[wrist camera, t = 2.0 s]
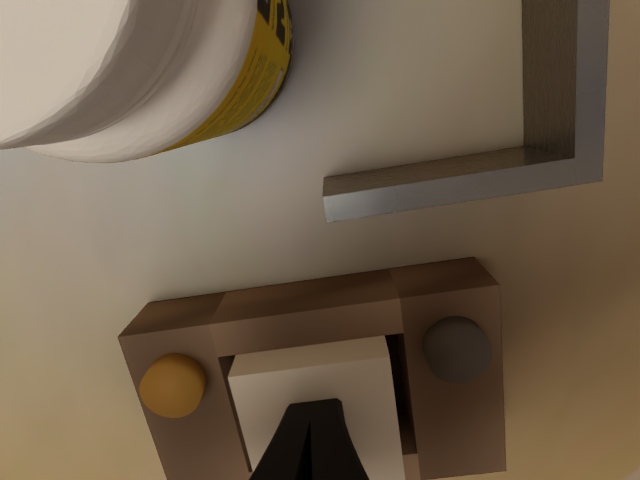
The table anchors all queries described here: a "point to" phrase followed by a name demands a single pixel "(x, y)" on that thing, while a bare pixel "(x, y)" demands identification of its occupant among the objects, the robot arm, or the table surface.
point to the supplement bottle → (136, 73)
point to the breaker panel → (324, 327)
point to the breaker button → (323, 396)
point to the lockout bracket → (539, 126)
